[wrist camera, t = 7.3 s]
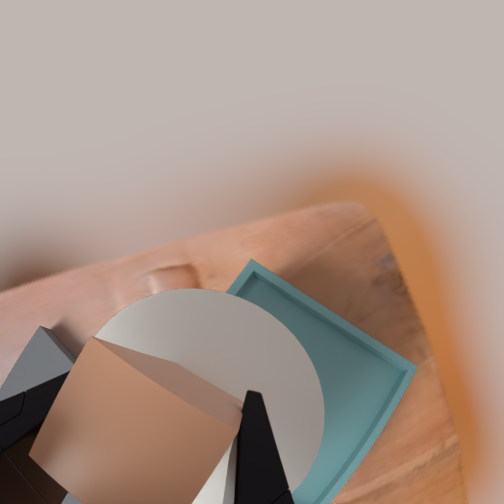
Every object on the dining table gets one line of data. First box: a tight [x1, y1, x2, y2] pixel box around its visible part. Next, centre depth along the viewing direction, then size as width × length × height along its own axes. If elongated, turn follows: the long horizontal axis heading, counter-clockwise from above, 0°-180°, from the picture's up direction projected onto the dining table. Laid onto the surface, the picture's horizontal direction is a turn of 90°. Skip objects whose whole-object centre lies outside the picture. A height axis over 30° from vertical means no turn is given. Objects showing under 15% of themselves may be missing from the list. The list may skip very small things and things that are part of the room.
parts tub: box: [226, 259, 418, 504], centre depth 18 cm, size 12×12×6 cm
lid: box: [29, 288, 325, 504], centre depth 8 cm, size 10×10×8 cm
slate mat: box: [0, 326, 83, 504], centre depth 18 cm, size 12×12×2 cm
